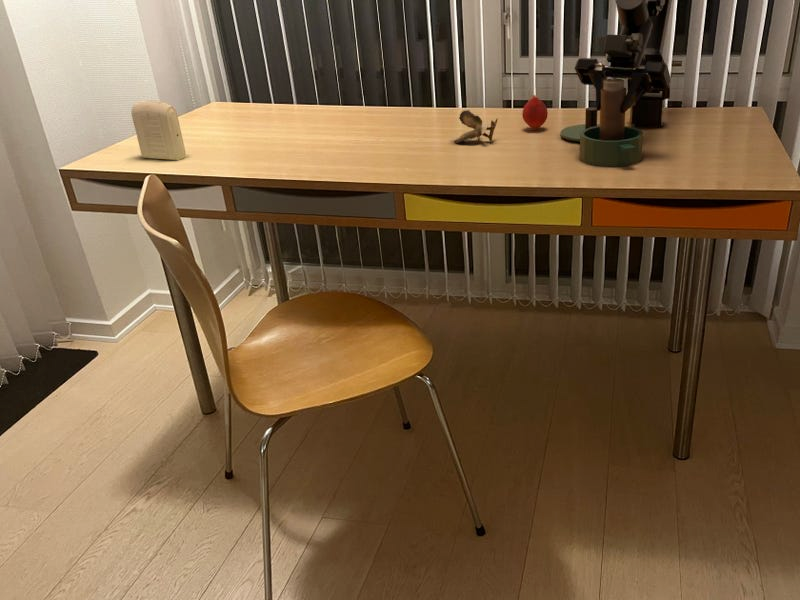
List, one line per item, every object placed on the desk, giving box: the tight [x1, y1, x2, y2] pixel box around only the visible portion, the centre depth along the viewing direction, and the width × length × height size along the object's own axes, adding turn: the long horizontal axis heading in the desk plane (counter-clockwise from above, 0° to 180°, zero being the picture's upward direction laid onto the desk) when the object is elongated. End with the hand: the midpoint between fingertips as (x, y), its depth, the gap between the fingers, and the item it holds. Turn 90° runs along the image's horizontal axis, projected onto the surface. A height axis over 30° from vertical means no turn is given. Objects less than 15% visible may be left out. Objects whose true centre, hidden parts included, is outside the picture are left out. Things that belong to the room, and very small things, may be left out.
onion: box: [521, 94, 549, 131], centre depth 185 cm, size 6×6×8 cm
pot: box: [579, 125, 644, 167], centre depth 164 cm, size 13×18×5 cm
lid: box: [560, 107, 600, 143], centre depth 179 cm, size 14×14×6 cm
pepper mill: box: [599, 77, 627, 141], centre depth 161 cm, size 5×5×13 cm
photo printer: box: [130, 100, 187, 161], centre depth 177 cm, size 10×4×12 cm, turn 73°
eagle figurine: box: [453, 109, 499, 144], centre depth 179 cm, size 8×7×9 cm
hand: (610, 110), depth 160 cm, fingers closed on pepper mill, 5 cm apart
